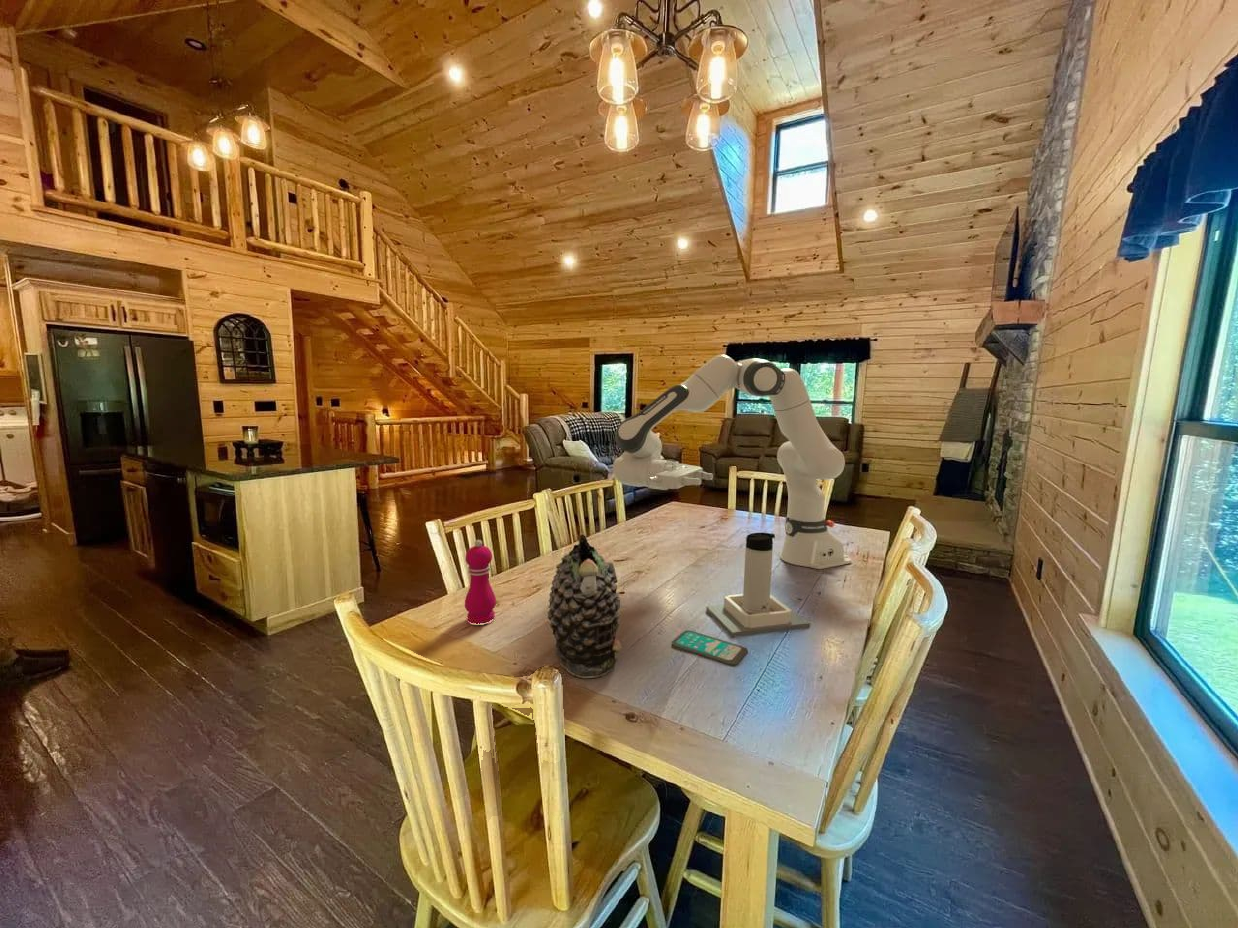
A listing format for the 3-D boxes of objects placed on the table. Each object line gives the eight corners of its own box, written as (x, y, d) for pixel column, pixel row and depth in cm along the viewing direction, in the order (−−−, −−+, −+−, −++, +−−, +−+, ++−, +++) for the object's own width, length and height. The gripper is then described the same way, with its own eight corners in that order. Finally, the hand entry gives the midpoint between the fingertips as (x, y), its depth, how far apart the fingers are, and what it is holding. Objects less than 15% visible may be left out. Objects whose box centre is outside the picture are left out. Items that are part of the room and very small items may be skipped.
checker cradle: (776, 602, 130) (777, 588, 129) (809, 627, 116) (810, 611, 116) (706, 610, 125) (706, 595, 124) (732, 637, 112) (733, 620, 111)
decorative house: (634, 678, 96) (636, 554, 92) (557, 690, 91) (555, 561, 88) (606, 628, 115) (607, 524, 112) (542, 637, 111) (540, 529, 107)
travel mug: (771, 620, 117) (776, 538, 114) (742, 617, 118) (746, 536, 115) (769, 608, 123) (774, 531, 120) (742, 606, 124) (746, 529, 121)
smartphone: (735, 665, 99) (669, 643, 107) (735, 669, 99) (669, 647, 108) (750, 647, 106) (686, 628, 114) (749, 651, 106) (686, 632, 115)
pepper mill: (502, 616, 121) (500, 537, 118) (485, 629, 114) (482, 546, 111) (477, 611, 123) (474, 534, 120) (459, 624, 117) (455, 542, 114)
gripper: (646, 469, 138) (692, 473, 131) (676, 460, 156) (718, 464, 149) (646, 491, 139) (691, 496, 132) (675, 480, 157) (717, 484, 150)
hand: (706, 479), depth 141 cm, fingers open, 8 cm apart
